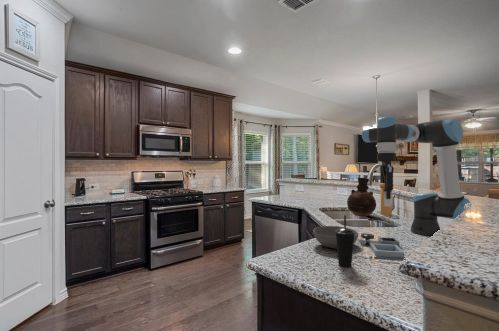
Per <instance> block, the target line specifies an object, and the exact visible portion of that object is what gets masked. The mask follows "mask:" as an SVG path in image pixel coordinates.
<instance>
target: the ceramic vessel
mask: <svg viewBox="0 0 499 331" xmlns="http://www.w3.org/2000/svg"><path fill="white" fill-rule="evenodd" d="M357 181H358V182H357V183H358V184H357V186H356V189H357V190H355V189H352V190H351V192H350V194H349V196H348V198H347V200H346V204H347V207H348V208H347V209H348V210H349V211H350V212H351V214H353V216H355V217H368V216H370V215H372V213H374V211H375V210H376V208H377V201H376V198H375V197H374V195H373V194H374V192H373V191H368V190H369V186H368V183H369V181H370V178H367V177H358V178H357Z"/></svg>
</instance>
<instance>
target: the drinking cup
mask: <svg viewBox="0 0 499 331" xmlns="http://www.w3.org/2000/svg"><path fill="white" fill-rule="evenodd" d="M343 227H344V228H340V229H337V230H335V233H336V240H337V249H336V251H337V260H338V266H339V267H342V268H351V267H352V264H353V263H352V261H353V252H354V244H355V243H354V234H355V231H356V230H355V231H353V230H354V229H353V230H351V229H352V228H349V227H347V215H343ZM348 228H349V229H348Z"/></svg>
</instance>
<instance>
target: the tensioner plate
mask: <svg viewBox="0 0 499 331" xmlns="http://www.w3.org/2000/svg"><path fill="white" fill-rule="evenodd" d="M360 238H361V239H357V241H358V243H359V244H360V246H361V247H362V248H370V243H372V244H389V245H397V246H398V247H399V248H400V249H401V250H404V248H403V246H401V245H400V241H399V240H398V239H396V238H395V237H382V236H378V237H377V239H378V240H374V239H375V235H374V234H372V233H367V232H366V233H361V234H360Z"/></svg>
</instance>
